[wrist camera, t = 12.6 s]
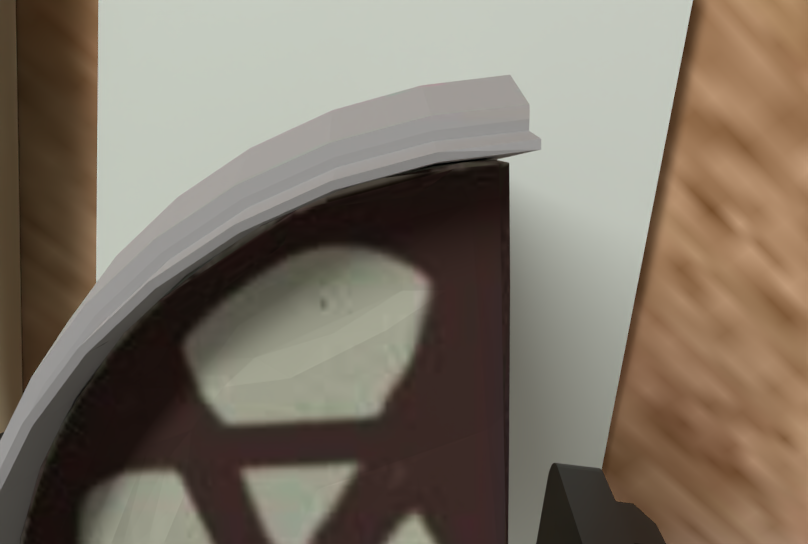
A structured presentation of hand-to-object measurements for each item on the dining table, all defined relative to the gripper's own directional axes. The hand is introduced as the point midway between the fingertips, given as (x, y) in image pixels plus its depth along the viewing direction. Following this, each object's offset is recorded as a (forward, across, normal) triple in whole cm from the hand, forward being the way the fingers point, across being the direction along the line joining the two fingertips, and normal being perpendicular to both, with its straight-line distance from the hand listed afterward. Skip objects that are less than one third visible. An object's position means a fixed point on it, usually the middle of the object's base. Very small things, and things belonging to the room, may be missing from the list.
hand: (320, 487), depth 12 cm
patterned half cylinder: (+5, +1, 0) cm, 5 cm away
